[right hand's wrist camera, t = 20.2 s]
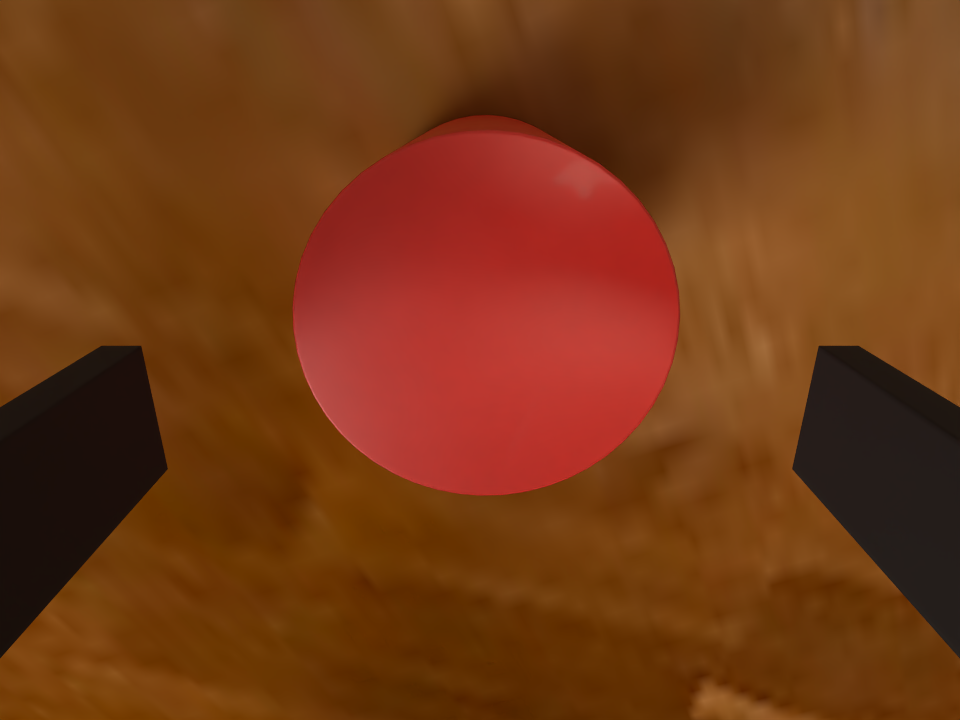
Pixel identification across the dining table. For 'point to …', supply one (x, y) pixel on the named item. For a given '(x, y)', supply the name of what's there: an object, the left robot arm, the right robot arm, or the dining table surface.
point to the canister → (486, 309)
